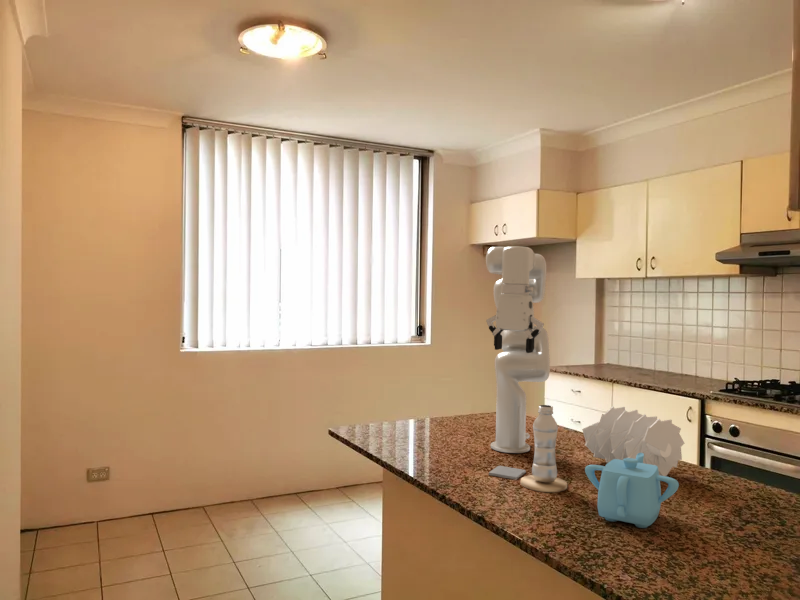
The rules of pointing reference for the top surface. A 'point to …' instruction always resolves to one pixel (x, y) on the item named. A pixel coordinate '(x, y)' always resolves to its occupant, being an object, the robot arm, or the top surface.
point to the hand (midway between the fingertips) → (513, 350)
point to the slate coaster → (507, 472)
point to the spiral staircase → (635, 438)
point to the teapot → (630, 490)
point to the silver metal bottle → (544, 445)
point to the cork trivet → (543, 484)
